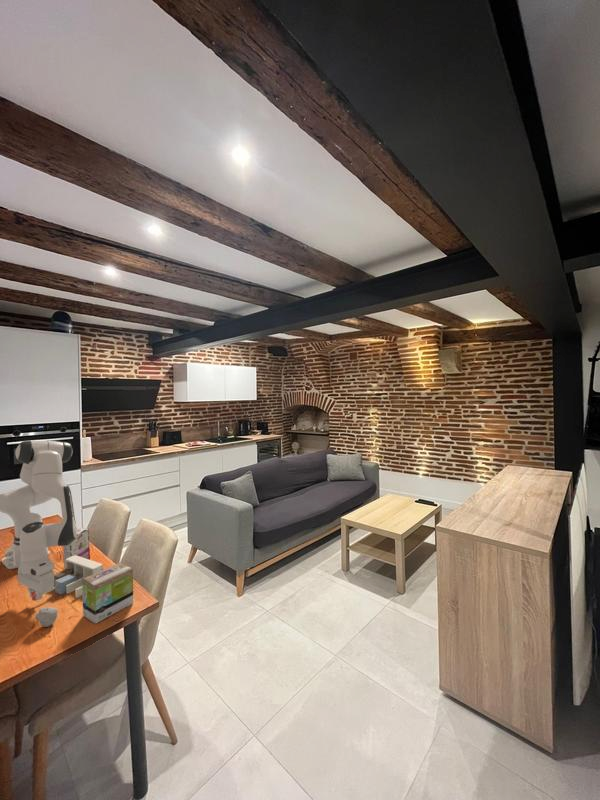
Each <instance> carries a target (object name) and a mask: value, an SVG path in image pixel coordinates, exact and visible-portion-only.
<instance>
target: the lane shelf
mask: <svg viewBox="0 0 600 800" xmlns="http://www.w3.org/2000/svg"><path fill="white" fill-rule="evenodd" d="M65 562H66V569H69V570H72V571H73V576H76V581H74V582H72V583H70V584H68V585H66V593H65V594H67V595H68V594H70V593H73V592H74V595H75V598H76V599H77V598H80V597H81V596H83V578H86V577H88V576H90V575H93V574H95V573H97V572H99V571H102V570H104V563H101V562H98V561H95V560H91V559H90V560H89V559H86V558H83V557H80V556H77V555H74V556H72V557H69V558H67V559H65Z"/></svg>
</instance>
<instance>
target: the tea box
mask: <svg viewBox="0 0 600 800" xmlns="http://www.w3.org/2000/svg"><path fill="white" fill-rule="evenodd" d="M133 603H134V569H133V568H132V567H130V566H128V565H126V564H123V563H121V562H118V563H115V564H114V565H111V566H108V567H106V568H103V570H102V571H99V572H97V573H95V574H93V575H90V576H88V577H86V578H83V595H82V616H83V617H85V618H86V619H88V620H89V621H91V622H92V623H94V624H98V623H99V622H101V621H103V620H105V619H107V618H108V617H111V616H112V615H115V613H118V612H119V611H121V610H123V609H125V608H127V607H129V606H131V605H133Z"/></svg>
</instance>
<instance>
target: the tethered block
mask: <svg viewBox="0 0 600 800" xmlns="http://www.w3.org/2000/svg"><path fill="white" fill-rule="evenodd" d="M74 581H76V576H73V575H70V574H69V575H67V576H64V577H62V578H60V579H58V580H55V586H54V588H53V590H54V592H55V593H56V594H59V595H63V594H66V585H68V584H70V583H72V582H74ZM53 590H51V591H50V592H52V591H53ZM35 595H37V592H36V593H34V594H33V595H32V597H31V600H32V601H34V602H35V601H38V600H37V599H36V597H35ZM43 595H44V594H42V596H43Z"/></svg>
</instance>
